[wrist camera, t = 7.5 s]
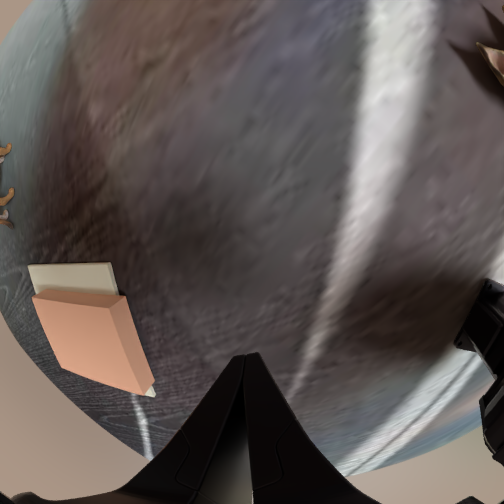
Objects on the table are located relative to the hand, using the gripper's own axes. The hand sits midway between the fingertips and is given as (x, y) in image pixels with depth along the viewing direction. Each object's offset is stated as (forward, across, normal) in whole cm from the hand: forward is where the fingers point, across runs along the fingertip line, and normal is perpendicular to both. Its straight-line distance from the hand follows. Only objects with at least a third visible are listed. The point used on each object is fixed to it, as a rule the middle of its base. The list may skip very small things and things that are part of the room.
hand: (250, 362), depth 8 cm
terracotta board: (+11, +13, +7) cm, 18 cm away
